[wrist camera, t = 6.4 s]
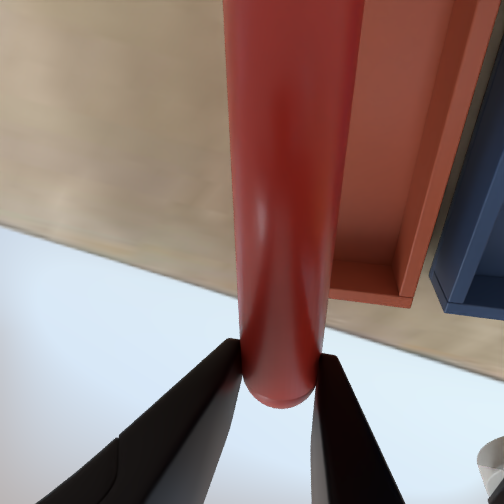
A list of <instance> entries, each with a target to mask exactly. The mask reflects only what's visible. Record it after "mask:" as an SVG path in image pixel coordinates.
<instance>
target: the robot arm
mask: <svg viewBox="0 0 504 504" xmlns="http://www.w3.org/2000/svg"><path fill="white" fill-rule="evenodd" d="M241 380H242V365H241V346H240V340H239V339H233V338H228V339H226V340H225V341H224V342H223V343H221V344H220V345H219V346H218V347H217V348H216V349H215V350H214V351H212V352H211V353H210V354H209V355H208V356H207V357H206V358H205V359H203V360H202V362H200V363H199V364H198V365H197V366H196V367H195V368H194V369H192V370H191V371H190V372H189V373H188V374H187V375H186V376H185V377H183V378H182V379H181V380H180V381H179V382H178V383H177V384H176V385H174V386H173V387H172V388H171V389H170V390H169V391H168V392H167V393H165V394H164V395H163V396H162V397H161V398H160V399H159V400H158V401H157V402H155V404H153V405H152V406H151V407H150V408H149V409H148V410H147V411H145V412H144V413H143V414H142V415H141V416H140V417H139V418H137V419H136V420H135V421H134V422H133V423H132V424H131V425H130V426H129V427H127V428H126V429H125V430H124V431H123V432H122V433H121V434H120V435H119V438H115V439H114V440H113V441H111V442H110V443H109V444H108V445H107V446H106V447H105V448H104V449H103V450H102V451H100V452H99V453H98V454H97V455H96V456H94V457H93V458H92V459H91V460H90V461H89V462H87V463H86V464H85V465H84V466H83V467H82V468H80V469H79V470H78V471H77V472H76V473H74V474H73V475H72V476H71V477H69V478H68V479H67V480H65V481H64V482H63V483H62V484H60V485H59V486H58V487H57V488H56V489H54V490H53V491H52V492H50V493H49V494H48V495H46V496H45V497H44V498H43V499H41V500H40V501H38V502H37V503H36V504H203V503H204V500H205V497H206V495H207V492H208V489H209V486H210V483H211V481H212V478H213V475H214V472H215V470H216V467H217V464H218V461H219V458H220V455H221V453H222V450H223V447H224V444H225V441H226V438H227V436H228V432H229V429H230V426H231V422H232V418H233V414H234V410H235V405H236V401H237V397H238V392H239V388H240V384H241ZM311 490H312V491H311V492H312V493H311V494H312V504H405V502H404V500H403V498H402V495H401V493H400V491H399V489H398V487H397V485H396V482H395V480H394V478H393V476H392V474H391V472H390V469H389V468H388V466H387V463H386V461H385V459H384V457H383V454H382V452H381V450H380V448H379V446H378V444H377V441H376V439H375V437H374V435H373V433H372V431H371V428H370V426H369V424H368V422H367V420H366V418H365V415H364V414H363V411H362V409H361V407H360V405H359V403H358V401H357V398H356V396H355V394H354V392H353V389H352V387H351V385H350V383H349V381H348V379H347V377H346V374H345V372H344V370H343V368H342V366H341V364H340V361H339V359H338V358H337V356H335V355H330V354H324V353H321V355H320V358H319V364H318V373H317V381H316V389H315V401H314V411H313V422H312V434H311ZM488 503H489V504H504V478H503V479H502V481H501V482H500V484H499V485H498V486H497V488H496V489H495V490H494V492H493V493H492V495H491V496H490V497H489V499H488Z"/></svg>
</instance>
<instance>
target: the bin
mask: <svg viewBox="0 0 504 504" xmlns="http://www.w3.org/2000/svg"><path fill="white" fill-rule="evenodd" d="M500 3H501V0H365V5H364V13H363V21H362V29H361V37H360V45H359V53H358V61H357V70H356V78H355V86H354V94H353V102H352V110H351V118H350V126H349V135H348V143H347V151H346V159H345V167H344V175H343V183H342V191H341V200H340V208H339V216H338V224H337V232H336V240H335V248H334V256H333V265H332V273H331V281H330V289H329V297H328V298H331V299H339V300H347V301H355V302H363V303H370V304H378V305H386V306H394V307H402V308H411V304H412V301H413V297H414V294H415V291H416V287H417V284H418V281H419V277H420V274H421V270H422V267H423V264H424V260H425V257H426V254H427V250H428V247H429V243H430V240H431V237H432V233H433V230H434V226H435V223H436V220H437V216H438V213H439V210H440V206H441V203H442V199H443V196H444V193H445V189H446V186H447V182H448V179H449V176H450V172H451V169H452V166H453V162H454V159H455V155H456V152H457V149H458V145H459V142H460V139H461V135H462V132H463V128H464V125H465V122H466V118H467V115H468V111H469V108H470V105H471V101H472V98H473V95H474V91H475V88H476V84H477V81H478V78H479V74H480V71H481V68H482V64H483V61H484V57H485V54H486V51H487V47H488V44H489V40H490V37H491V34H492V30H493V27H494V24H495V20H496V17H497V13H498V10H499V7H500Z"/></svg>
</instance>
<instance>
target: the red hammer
mask: <svg viewBox="0 0 504 504" xmlns="http://www.w3.org/2000/svg"><path fill="white" fill-rule="evenodd" d="M364 5H365V0H223V14H224V34H225V54H226V73H227V93H228V112H229V132H230V152H231V171H232V191H233V210H234V230H235V249H236V269H237V289H238V308H239V326H240V346H241V365H242V375H243V378H244V382H245V384H246V386H247V388H248V390H249V391H250V393H251V394H252V395H253V396H254V397H255V398H256V399H257V400H258V401H260V402H261V403H262V404H265V405H266V406H269V407H272V408H278V409H285V408H291V407H294V406H296V405H298V404H300V403H302V402H303V401H304V400H306V399H307V398H308V397H309V395H310V394H311V393H312V391H313V390H314V388H315V386H316V381H317V373H318V364H319V358H320V355H321V353H322V346H323V338H324V330H325V321H326V313H327V305H328V297H329V289H330V281H331V273H332V265H333V256H334V248H335V240H336V232H337V224H338V216H339V208H340V200H341V191H342V183H343V175H344V167H345V159H346V151H347V143H348V135H349V126H350V118H351V110H352V102H353V94H354V86H355V78H356V70H357V61H358V53H359V45H360V37H361V29H362V21H363V13H364Z"/></svg>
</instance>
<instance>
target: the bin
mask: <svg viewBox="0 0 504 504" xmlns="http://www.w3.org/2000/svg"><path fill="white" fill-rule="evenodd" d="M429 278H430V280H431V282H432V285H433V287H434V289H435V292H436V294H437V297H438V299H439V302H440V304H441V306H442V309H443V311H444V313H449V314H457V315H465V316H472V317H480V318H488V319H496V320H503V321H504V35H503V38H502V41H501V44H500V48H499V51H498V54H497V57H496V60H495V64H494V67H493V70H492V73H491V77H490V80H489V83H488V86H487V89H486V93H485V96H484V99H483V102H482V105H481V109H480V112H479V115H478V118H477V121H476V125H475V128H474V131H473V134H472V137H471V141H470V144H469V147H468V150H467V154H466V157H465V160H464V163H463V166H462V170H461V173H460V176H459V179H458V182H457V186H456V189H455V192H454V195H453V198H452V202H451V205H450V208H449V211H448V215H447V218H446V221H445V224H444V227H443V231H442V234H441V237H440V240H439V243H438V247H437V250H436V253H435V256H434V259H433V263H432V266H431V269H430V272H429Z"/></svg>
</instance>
